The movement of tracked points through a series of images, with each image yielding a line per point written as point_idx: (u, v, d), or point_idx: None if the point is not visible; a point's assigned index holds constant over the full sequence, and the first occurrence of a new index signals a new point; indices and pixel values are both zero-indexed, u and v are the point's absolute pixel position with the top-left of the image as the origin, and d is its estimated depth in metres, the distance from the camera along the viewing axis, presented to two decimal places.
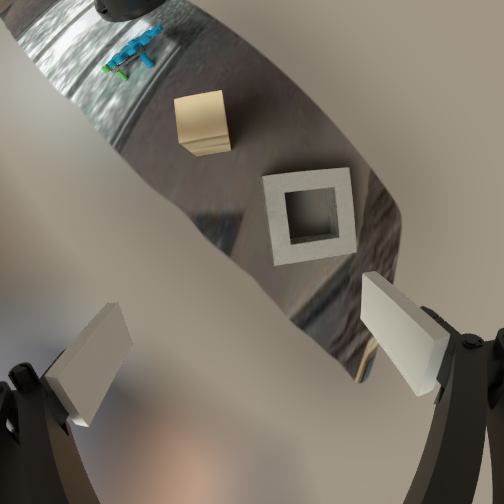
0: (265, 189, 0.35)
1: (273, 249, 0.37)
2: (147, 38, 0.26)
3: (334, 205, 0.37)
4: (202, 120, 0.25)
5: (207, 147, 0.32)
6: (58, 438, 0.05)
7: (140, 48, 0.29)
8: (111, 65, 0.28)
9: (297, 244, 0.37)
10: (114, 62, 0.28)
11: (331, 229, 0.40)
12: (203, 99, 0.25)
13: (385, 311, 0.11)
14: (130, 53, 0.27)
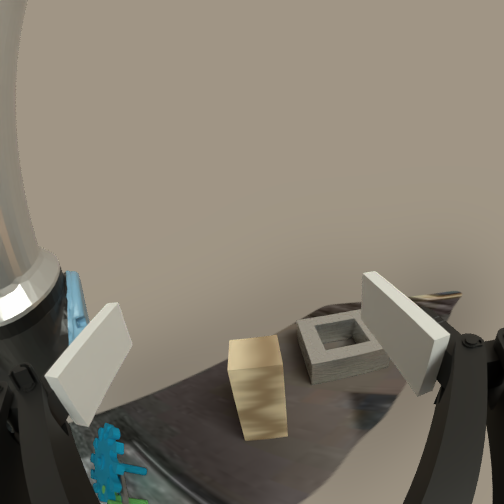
0: (324, 361, 0.34)
1: (378, 349, 0.34)
2: (114, 428, 0.21)
3: (329, 327, 0.43)
4: (259, 350, 0.26)
5: None
6: (58, 438, 0.05)
7: None
8: (117, 485, 0.15)
9: (368, 337, 0.37)
10: (116, 481, 0.16)
11: (349, 335, 0.44)
12: (236, 350, 0.26)
13: (385, 311, 0.11)
14: (121, 449, 0.18)
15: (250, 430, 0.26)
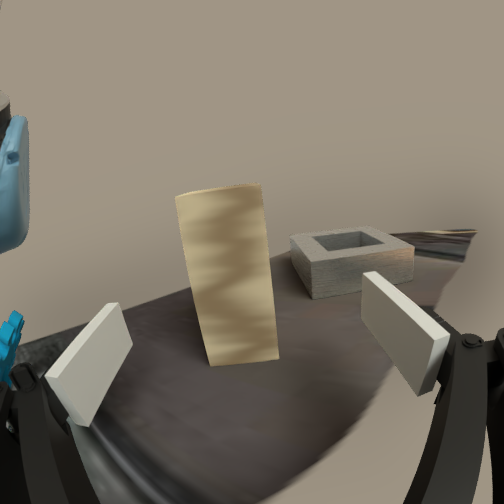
0: (327, 258, 0.26)
1: (397, 248, 0.26)
2: (16, 312, 0.13)
3: (330, 241, 0.35)
4: (228, 187, 0.18)
5: None
6: (58, 438, 0.05)
7: None
8: None
9: (382, 242, 0.29)
10: None
11: None
12: None
13: (385, 311, 0.11)
14: (6, 333, 0.10)
15: (216, 342, 0.18)
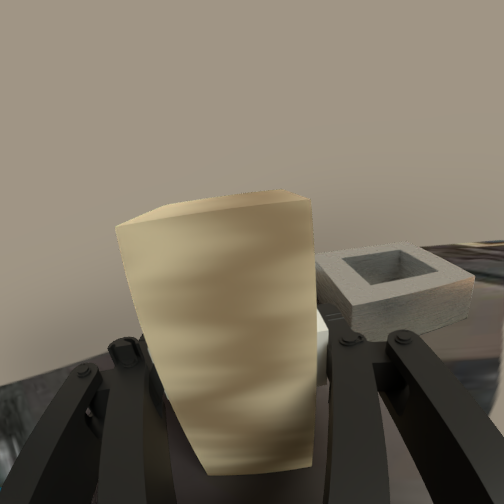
0: (374, 300, 0.17)
1: (457, 280, 0.17)
2: None
3: (364, 263, 0.26)
4: (234, 199, 0.09)
5: None
6: (151, 423, 0.06)
7: None
8: None
9: (433, 268, 0.20)
10: None
11: (393, 280, 0.27)
12: (169, 207, 0.09)
13: None
14: None
15: (215, 455, 0.09)
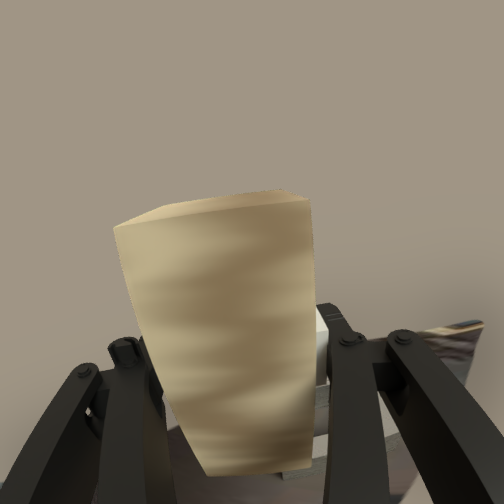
0: None
1: None
2: None
3: None
4: (233, 199, 0.09)
5: None
6: (151, 423, 0.06)
7: None
8: None
9: None
10: None
11: None
12: (168, 208, 0.09)
13: None
14: None
15: (214, 456, 0.09)
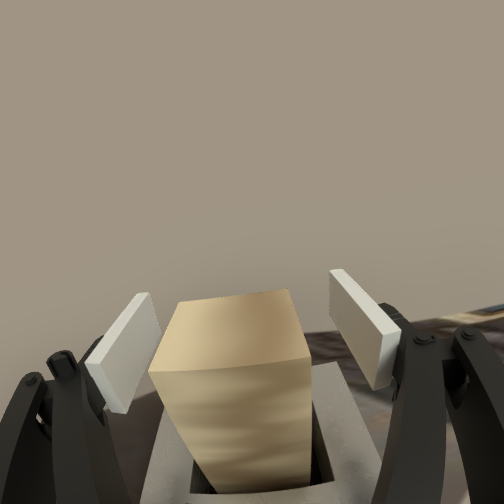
0: None
1: None
2: None
3: None
4: (245, 321, 0.10)
5: None
6: (94, 430, 0.06)
7: None
8: None
9: (332, 466, 0.10)
10: None
11: None
12: (186, 322, 0.10)
13: (346, 307, 0.12)
14: None
15: (232, 493, 0.10)
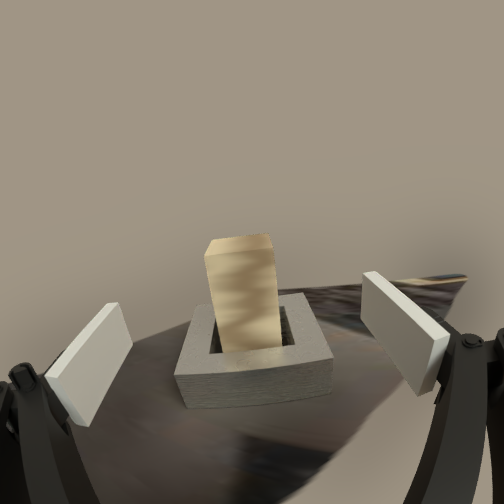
0: (195, 372, 0.19)
1: (303, 361, 0.19)
2: None
3: None
4: (246, 242, 0.22)
5: None
6: (58, 438, 0.05)
7: None
8: None
9: (294, 338, 0.22)
10: None
11: None
12: (218, 244, 0.23)
13: (385, 311, 0.11)
14: None
15: None
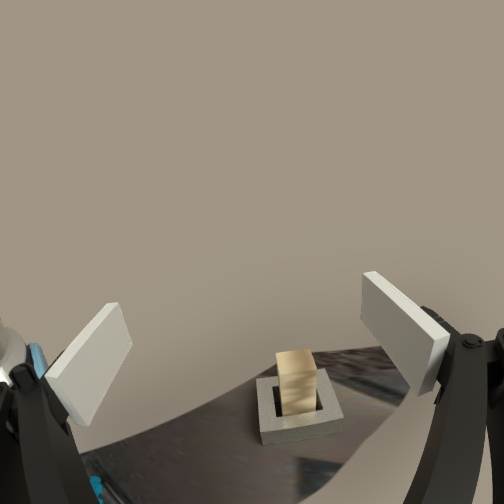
0: (272, 429, 0.32)
1: (328, 420, 0.32)
2: (98, 485, 0.19)
3: None
4: (299, 359, 0.36)
5: None
6: (58, 438, 0.05)
7: None
8: None
9: (322, 405, 0.35)
10: None
11: None
12: (282, 360, 0.36)
13: (385, 311, 0.11)
14: None
15: None
